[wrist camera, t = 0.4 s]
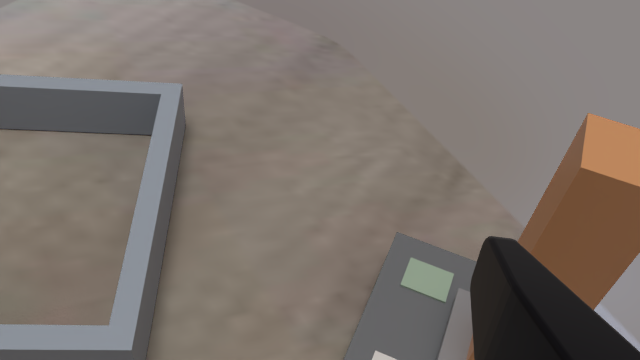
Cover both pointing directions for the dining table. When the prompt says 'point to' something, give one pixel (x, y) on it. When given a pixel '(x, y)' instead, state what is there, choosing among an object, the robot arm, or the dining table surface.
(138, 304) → the tray
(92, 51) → the dining table surface
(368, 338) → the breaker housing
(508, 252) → the robot arm
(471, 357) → the handle
